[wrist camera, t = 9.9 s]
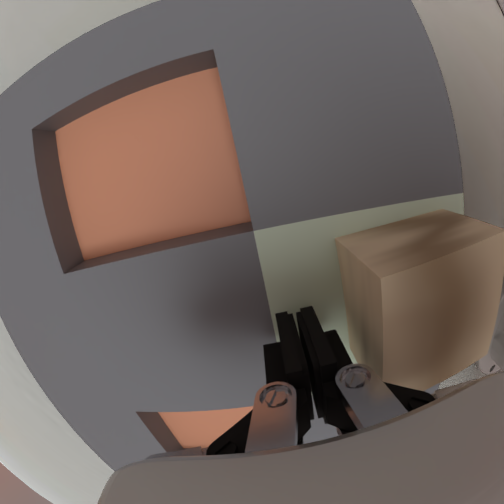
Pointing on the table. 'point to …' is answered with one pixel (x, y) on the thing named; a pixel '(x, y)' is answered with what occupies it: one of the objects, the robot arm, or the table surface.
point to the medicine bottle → (501, 4)
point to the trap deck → (205, 200)
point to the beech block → (422, 295)
